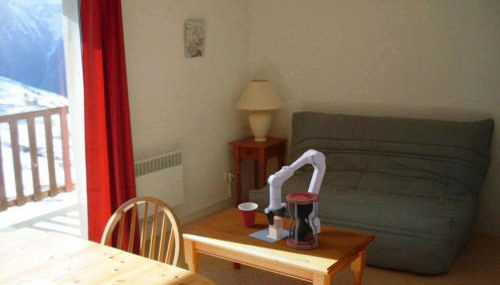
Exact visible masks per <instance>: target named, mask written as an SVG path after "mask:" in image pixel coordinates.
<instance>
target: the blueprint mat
mask: <svg viewBox="0 0 500 285" xmlns="http://www.w3.org/2000/svg"><path fill="white" fill-rule="evenodd" d="M247 236H249V237H251V238H255V239H258V240H262V241H265V242H269V243H274V242H277V241H279V240H282V239H285V238H288V237H289V230H286V229H283V236H282V237H279V238H277V239H276V238H273V237H269V227H267V228H264V229H261V230H258V231H255V232H253V233H250V234H248V235H247ZM291 236H292V231H291Z"/></svg>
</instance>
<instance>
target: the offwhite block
mask: <svg viewBox="0 0 500 285" xmlns="http://www.w3.org/2000/svg"><path fill="white" fill-rule="evenodd" d="M268 228H269V237H273V238H276V239H277V238H279V237H282V236H283V230H284V226H283V227H282V228H279V229H273V228H270V227H269V226H268Z"/></svg>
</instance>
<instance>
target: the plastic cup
mask: <svg viewBox="0 0 500 285" xmlns="http://www.w3.org/2000/svg"><path fill="white" fill-rule="evenodd" d="M258 206H259V205H258V204H257V203H255V202H244V203H241V204H239V205H238V210H239V212H240V216H241V222H242V225H243V227H244V228H253V227H255V222H256V215H257V209H258V208H259V207H258Z"/></svg>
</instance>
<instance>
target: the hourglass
mask: <svg viewBox="0 0 500 285" xmlns="http://www.w3.org/2000/svg"><path fill="white" fill-rule="evenodd" d="M285 197H286V201H287V202H288V212H289V215H290V216H291V219H290V222H289V224H288V231H289V236H288V237H287V239H286V245H287V246H288V247H290V248H291V249H296V250H312V249H315V248H317V247H318V246H319V245H320V240H319V239H318V233H317V228H316V226H315V224H314V219H315V218H316V217H317V216H318V206H317V204H318V201H319V199H320V198H319V197H320V196H319V194H318V195H317V194H315V193H311V192H308V191H296V192H291V193H290V192H289V193H288V194H286V196H285ZM314 202H315V215H314V217H313V218H312V221H311V223H312V226H313V227H314V229H315V235H313V229H312V227H311V226H310V221H309V215H310V214H311V213H312V211H313V203H314ZM305 219H306V220H307V222H308V223H307V222H306V221H305ZM294 221H296V223H295V225H294V227H293V228H292V224H293V223H294ZM291 232H292V235H291Z"/></svg>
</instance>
